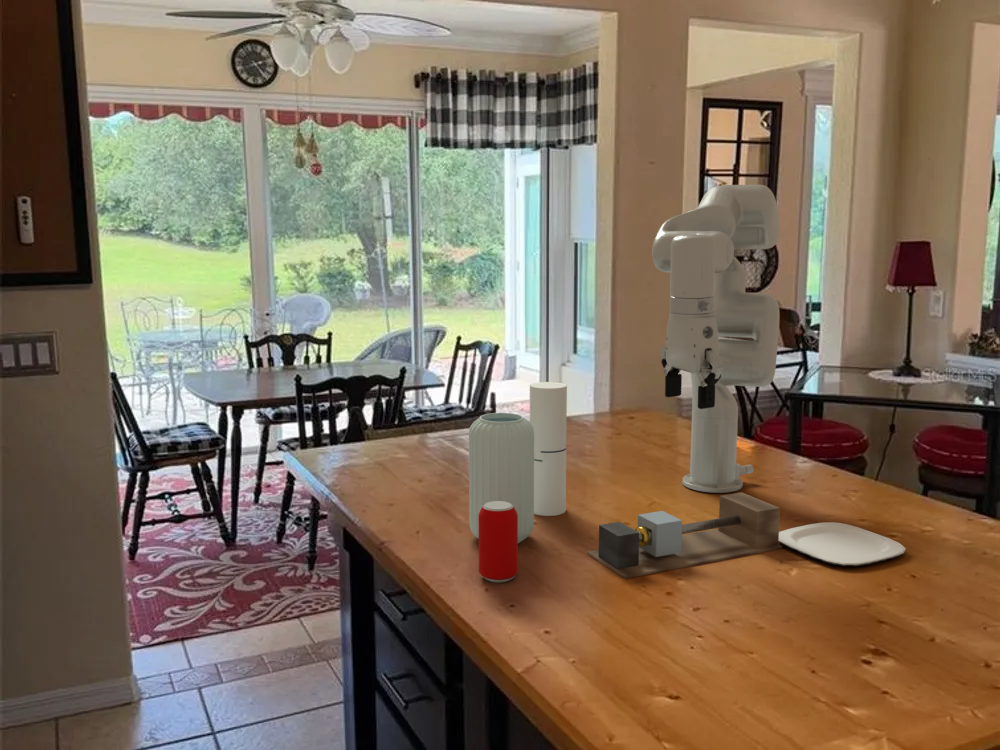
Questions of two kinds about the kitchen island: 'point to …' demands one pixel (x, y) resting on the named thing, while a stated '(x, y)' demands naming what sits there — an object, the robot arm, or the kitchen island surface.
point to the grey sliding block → (662, 533)
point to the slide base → (694, 540)
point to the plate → (840, 544)
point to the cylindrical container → (549, 446)
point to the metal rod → (691, 527)
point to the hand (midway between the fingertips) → (689, 401)
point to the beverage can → (498, 541)
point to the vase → (502, 467)
